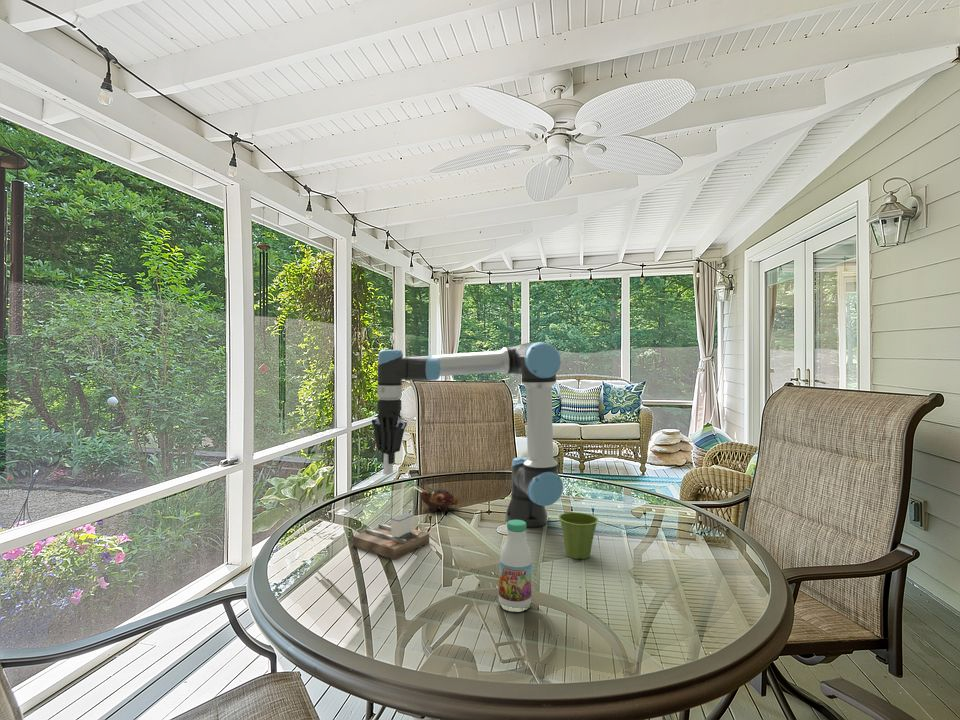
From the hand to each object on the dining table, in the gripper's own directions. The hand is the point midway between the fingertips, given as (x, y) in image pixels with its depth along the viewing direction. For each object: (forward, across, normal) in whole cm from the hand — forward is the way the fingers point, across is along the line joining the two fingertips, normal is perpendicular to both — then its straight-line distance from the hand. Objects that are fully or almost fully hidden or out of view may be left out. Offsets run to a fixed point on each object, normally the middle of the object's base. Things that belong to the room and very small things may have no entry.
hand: (388, 473), depth 155 cm
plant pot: (+22, +53, +27) cm, 63 cm away
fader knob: (+19, +7, 0) cm, 20 cm away
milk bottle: (+22, +52, -11) cm, 57 cm away
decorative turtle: (+22, -7, +37) cm, 44 cm away
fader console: (+22, +2, 0) cm, 22 cm away
